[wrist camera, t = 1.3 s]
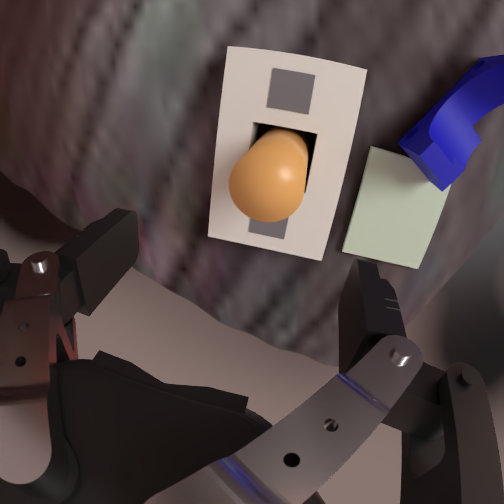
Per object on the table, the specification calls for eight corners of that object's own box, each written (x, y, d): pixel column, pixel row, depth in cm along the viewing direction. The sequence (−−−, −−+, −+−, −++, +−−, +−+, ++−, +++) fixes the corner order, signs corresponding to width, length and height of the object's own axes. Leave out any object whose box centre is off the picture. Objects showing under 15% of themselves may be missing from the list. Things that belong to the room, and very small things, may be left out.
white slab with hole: (237, 49, 22) (227, 46, 19) (361, 71, 21) (367, 69, 18) (217, 221, 30) (207, 236, 28) (321, 243, 29) (321, 261, 27)
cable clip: (429, 181, 24) (456, 204, 18) (397, 142, 23) (419, 156, 18) (510, 98, 18) (548, 104, 13) (481, 57, 17) (517, 53, 12)
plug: (262, 121, 25) (233, 144, 16) (313, 130, 24) (311, 159, 16) (255, 168, 27) (225, 214, 19) (304, 177, 27) (296, 229, 18)
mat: (370, 145, 24) (371, 147, 23) (452, 171, 23) (454, 173, 23) (341, 248, 29) (342, 251, 29) (416, 265, 29) (417, 269, 28)
